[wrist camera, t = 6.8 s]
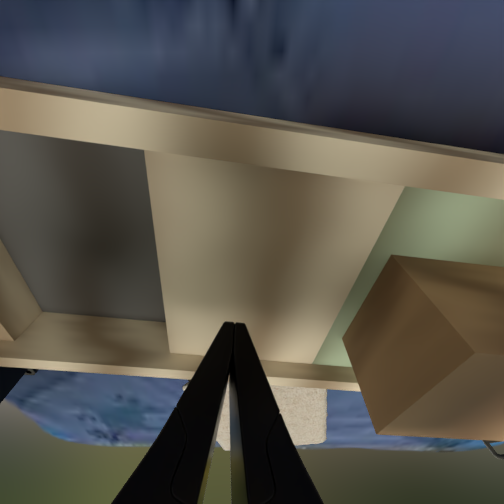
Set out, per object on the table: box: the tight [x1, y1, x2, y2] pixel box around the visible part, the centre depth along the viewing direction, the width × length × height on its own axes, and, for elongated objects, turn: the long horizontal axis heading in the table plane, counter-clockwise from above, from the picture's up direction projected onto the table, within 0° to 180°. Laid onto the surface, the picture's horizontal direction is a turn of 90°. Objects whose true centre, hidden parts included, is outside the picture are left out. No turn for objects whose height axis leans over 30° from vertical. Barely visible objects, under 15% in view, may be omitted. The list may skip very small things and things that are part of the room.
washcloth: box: [183, 379, 328, 450], centre depth 22 cm, size 12×18×3 cm, turn 11°
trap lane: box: [0, 76, 504, 391], centre depth 12 cm, size 40×14×4 cm, turn 82°
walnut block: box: [342, 254, 504, 441], centre depth 10 cm, size 6×6×4 cm
